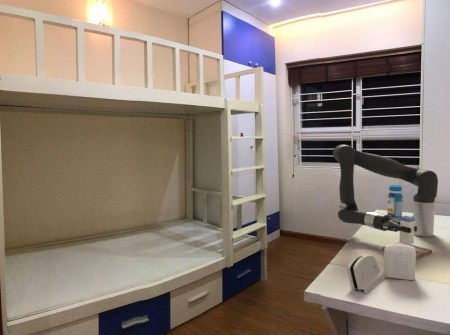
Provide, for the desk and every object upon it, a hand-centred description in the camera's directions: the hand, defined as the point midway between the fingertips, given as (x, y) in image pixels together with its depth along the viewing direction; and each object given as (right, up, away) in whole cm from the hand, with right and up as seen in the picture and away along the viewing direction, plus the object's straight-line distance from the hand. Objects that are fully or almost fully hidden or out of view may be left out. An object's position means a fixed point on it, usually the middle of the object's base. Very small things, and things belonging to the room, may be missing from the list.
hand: (413, 229), depth 140 cm
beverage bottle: (+23, -4, +60) cm, 64 cm away
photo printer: (-18, -13, -22) cm, 32 cm away
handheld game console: (+38, -5, +58) cm, 70 cm away
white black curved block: (-32, -14, -25) cm, 43 cm away
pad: (-1, -10, +3) cm, 11 cm away
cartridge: (-1, -6, +3) cm, 7 cm away
